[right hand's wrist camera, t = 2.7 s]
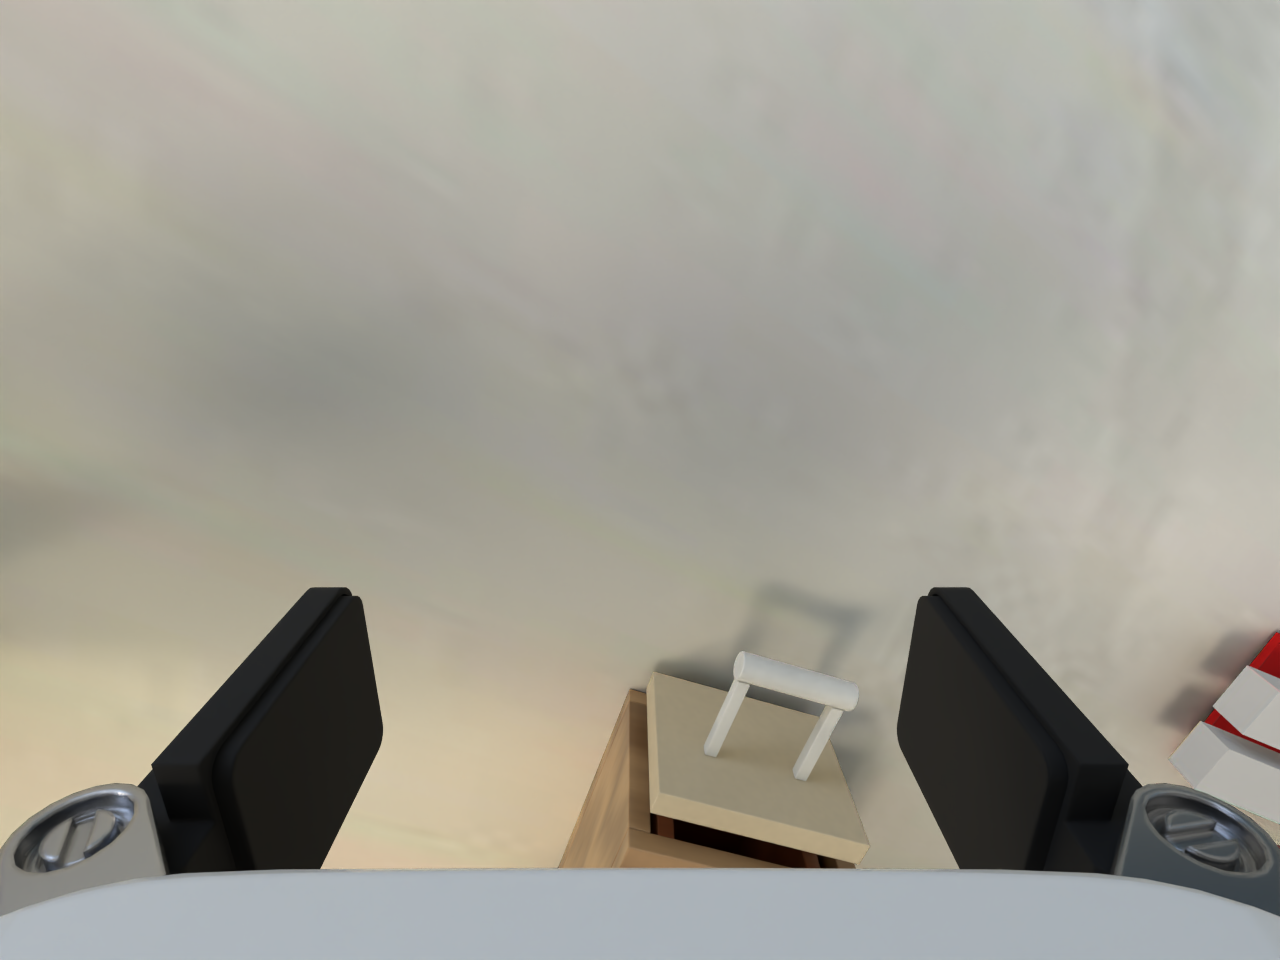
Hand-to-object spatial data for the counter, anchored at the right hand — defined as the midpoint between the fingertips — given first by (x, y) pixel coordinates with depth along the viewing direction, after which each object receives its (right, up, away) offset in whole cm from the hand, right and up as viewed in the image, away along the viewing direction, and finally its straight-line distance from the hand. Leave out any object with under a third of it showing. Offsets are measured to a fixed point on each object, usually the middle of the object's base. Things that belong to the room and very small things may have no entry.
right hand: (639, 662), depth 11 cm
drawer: (+3, -13, +27) cm, 30 cm away
